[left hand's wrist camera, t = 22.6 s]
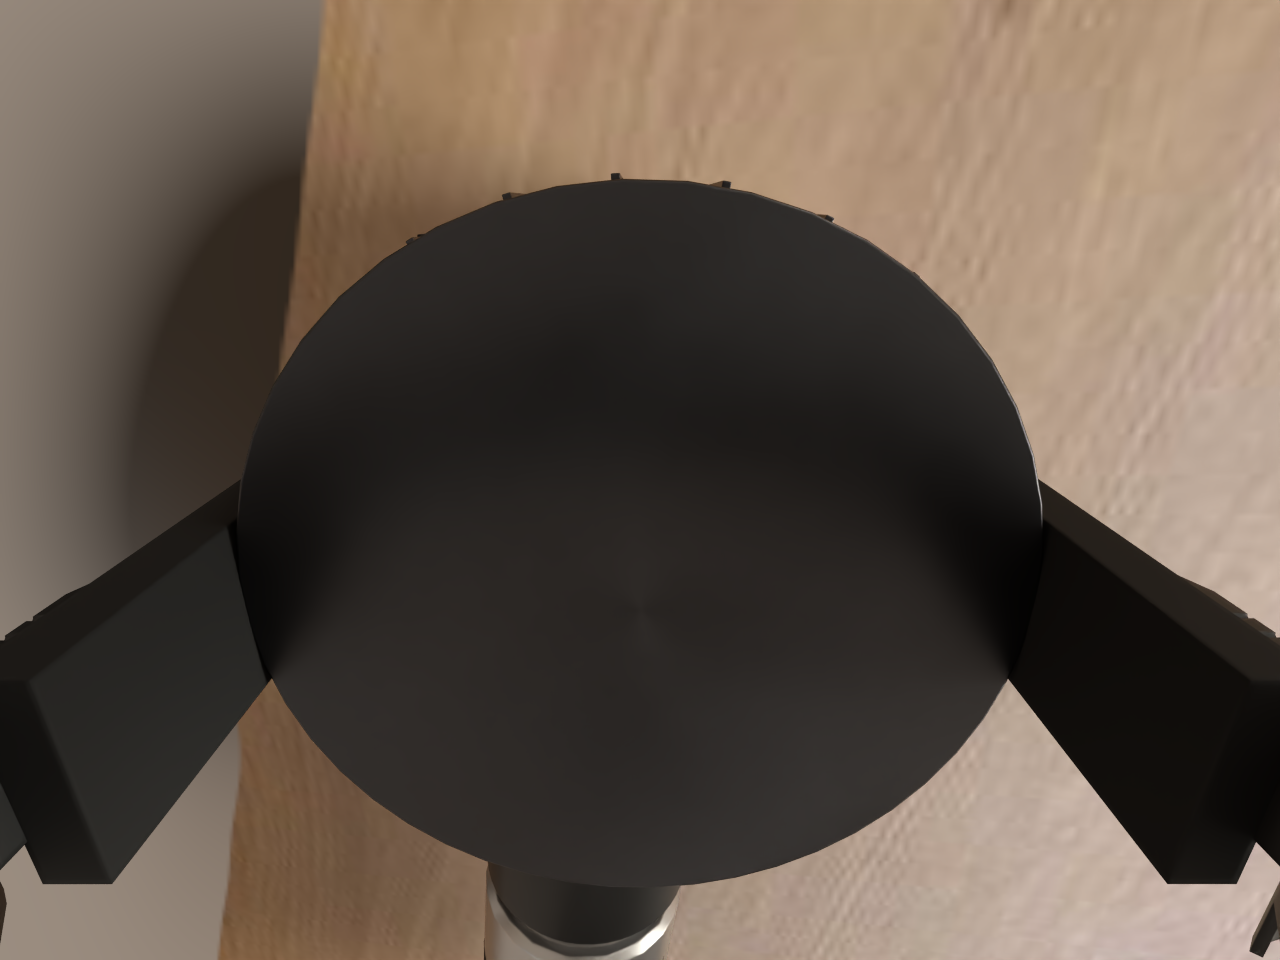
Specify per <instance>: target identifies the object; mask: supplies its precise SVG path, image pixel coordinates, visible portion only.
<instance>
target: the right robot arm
mask: <svg viewBox="0 0 1280 960" xmlns="http://www.w3.org/2000/svg"><path fill="white" fill-rule="evenodd" d="M422 235H424V234H419V235H418V237H420V236H422ZM679 898H680V885H679V886H666V887H608V886H599V885H590V884H581V883H572V882H565V881H560V880H556V879H551V878H546V877H541V876H536V875H532V874H527V873H523V872H520V871H517V870H514V869H510V868H507V867H504V866H501V865H497V864H494V863H491V862H488V867H487V871H486V905H485V938H484V960H666V958H667V953H668V949H669V944H670V939H671V935H672V930H673V925H674V921H675V916H676V912H677V907H678V902H679Z"/></svg>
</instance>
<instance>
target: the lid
mask: <svg viewBox="0 0 1280 960" xmlns="http://www.w3.org/2000/svg"><path fill="white" fill-rule="evenodd" d="M730 187H731V182H728V181H721V182H717V183H713V184H710V185H708V184H702V183H696V182H691V181H673V180H642V179H623V178H622V176H621V175H620V173H612V174H611V180H607V181H598V182H589V183H580V184H571V185H563V186H555V187H552V188H548V189H544V190H540V191H536V192H532V193H529V194H520V193H506V194H503V195H502V197H503V200H502V201H498V202H494V203H492V204H489V205H487V206H485V207H482V208H480V209H478V210H475V211H473V212H471V213H468V214H466V215H463V216H461V217H459V218H456V219H454V220H452V221H449V222H447V223H445V224H442V225H440V226H437V227H435V228H434V229H432V230H431V231H429V232H427V233H426V234H424V235H422V236H420V237H413V238H411V239H409V240H407V241H406V243H407V245H406V246H404V247H403V248H401V249H399V250H398V251H396V252H395V253H393V254H391V255H390V256H388V257H386V258H385V259H383V260H382V261H381V262H380V263H379V264H377V265H376V266H375V267H374V268H373V269H371V270H370V271H369V272H368V273H367V274H366V275H364V276H363V277H362V278H361V279H360V280H358V281H357V282H356V283H355V284H354V285H352V286H351V287H350V288H349V289H348V290H347V291H345V292H344V293H343V294H342V295H341V296H339V297H338V299H337V300H336V301H335V302H334V303H333V304H332V305H331V307H330V308H329V309H328V310H327V311H326V312H325V313H324V315H323V316H322V317H321V318H320V319H319V320H318V321H317V323H316V324H315V325H314V326H313V327H312V328H311V330H310V331H309V332H308V333H307V334H306V335H305V336H304V338H303V339H302V340H301V342H300V343H299V345H298V346H297V348H296V350H295V351H294V353H293V354H292V356H291V358H290V359H289V361H288V362H287V364H286V366H285V367H284V369H283V370H282V372H281V373H280V375H279V377H278V378H277V380H276V381H275V383H274V385H273V387H272V389H271V391H270V394H269V396H268V398H267V401H266V403H265V405H264V408H263V410H262V413H261V415H260V417H259V420H258V422H257V424H256V427H255V429H254V431H253V434H252V438H251V442H250V446H249V450H248V454H247V458H246V462H245V466H244V470H243V474H242V478H241V482H240V493H239V504H238V516H237V527H236V536H237V551H238V566H239V579H240V583H241V588H242V592H243V596H244V601H245V605H246V609H247V613H248V617H249V621H250V625H251V628H252V632H253V634H254V637H255V640H256V643H257V645H258V648H259V651H260V653H261V656H262V659H263V661H264V664H265V666H266V668H267V670H268V672H269V674H270V675H271V677H272V679H273V681H274V683H275V685H276V687H277V688H278V690H279V692H280V694H281V696H282V698H283V700H284V701H285V703H286V705H287V706H288V708H289V709H290V710H291V712H292V713H293V715H294V716H295V717H296V719H297V720H298V722H299V723H300V724H301V726H302V727H303V729H304V730H305V731H306V733H307V734H308V736H309V737H310V738H311V740H312V741H313V742H314V743H315V744H316V745H317V746H318V747H319V748H320V749H321V751H322V752H323V753H324V754H325V755H326V756H327V757H328V758H329V759H330V760H331V761H332V763H333V764H334V765H335V766H336V767H337V768H338V769H339V770H340V771H341V772H342V773H343V774H344V775H345V776H347V777H348V778H349V779H350V780H351V781H352V782H353V783H355V784H356V785H357V786H358V787H359V788H360V789H362V790H363V791H364V792H365V793H366V794H367V795H369V796H370V797H371V798H372V799H373V800H375V801H376V802H378V803H379V804H380V805H382V806H383V807H385V808H386V809H388V810H389V811H391V812H392V813H393V814H395V815H396V816H398V817H399V818H401V819H402V820H404V821H405V822H407V823H408V824H410V825H412V826H413V827H415V828H417V829H419V830H421V831H423V832H424V833H426V834H428V835H430V836H432V837H434V838H435V839H437V840H439V841H441V842H443V843H445V844H447V845H449V846H451V847H454V848H456V849H459V850H461V851H463V852H466V853H468V854H470V855H473V856H475V857H478V858H480V859H482V860H485V861H488V862H491V863H494V864H497V865H501V866H504V867H507V868H510V869H514V870H517V871H520V872H523V873H527V874H532V875H536V876H541V877H546V878H551V879H556V880H560V881H565V882H572V883H581V884H590V885H599V886H608V887H666V886H679V885H693V884H700V883H706V882H712V881H718V880H724V879H730V878H736V877H740V876H743V875H747V874H751V873H755V872H758V871H762V870H766V869H770V868H773V867H777V866H780V865H783V864H785V863H788V862H791V861H793V860H796V859H799V858H801V857H804V856H807V855H809V854H812V853H815V852H817V851H819V850H821V849H824V848H826V847H828V846H830V845H832V844H834V843H836V842H838V841H840V840H842V839H844V838H846V837H848V836H850V835H852V834H854V833H856V832H858V831H859V830H861V829H862V828H864V827H866V826H867V825H869V824H870V823H872V822H874V821H875V820H877V819H878V818H880V817H882V816H883V815H885V814H886V813H888V812H890V811H891V810H893V809H894V808H895V807H896V806H898V805H899V804H900V803H902V802H903V801H904V800H905V799H907V798H908V797H909V796H910V795H912V794H913V793H914V792H916V791H917V790H918V789H919V788H921V787H922V786H923V785H924V784H926V783H927V782H928V781H929V780H930V779H931V778H932V777H933V776H934V775H935V774H936V773H937V772H938V771H939V770H940V769H941V768H942V767H943V766H944V765H945V764H946V763H947V762H948V761H949V760H950V759H951V758H952V757H953V756H954V755H955V754H956V753H957V752H958V751H959V749H960V748H961V747H962V746H963V744H964V743H965V742H966V741H967V739H968V738H969V737H970V736H971V734H972V733H973V732H974V731H975V729H976V728H977V727H978V726H979V724H980V723H981V722H982V721H983V719H984V718H985V716H986V714H987V713H988V711H989V710H990V708H991V706H992V705H993V703H994V701H995V700H996V698H997V696H998V695H999V693H1000V692H1001V690H1002V688H1003V687H1004V685H1005V683H1006V682H1007V679H1008V677H1009V675H1010V673H1011V670H1012V668H1013V666H1014V664H1015V661H1016V659H1017V657H1018V655H1019V652H1020V650H1021V648H1022V646H1023V643H1024V641H1025V637H1026V633H1027V629H1028V625H1029V621H1030V617H1031V614H1032V610H1033V606H1034V602H1035V598H1036V594H1037V589H1038V585H1039V579H1040V571H1041V564H1042V556H1043V519H1042V500H1041V494H1040V488H1039V483H1038V477H1037V471H1036V466H1035V460H1034V455H1033V452H1032V449H1031V446H1030V443H1029V440H1028V437H1027V434H1026V431H1025V428H1024V425H1023V423H1022V420H1021V417H1020V414H1019V411H1018V408H1017V406H1016V404H1015V402H1014V400H1013V398H1012V396H1011V394H1010V392H1009V391H1008V389H1007V387H1006V385H1005V383H1004V381H1003V379H1002V377H1001V375H1000V374H999V372H998V370H997V368H996V366H995V364H994V362H993V360H992V359H991V358H990V356H989V355H988V354H987V352H986V351H985V350H984V348H983V347H982V346H981V344H980V343H979V342H978V340H977V339H976V338H975V336H974V335H973V334H972V332H971V331H970V330H969V328H968V327H967V326H966V324H965V323H964V322H963V320H962V319H961V318H960V316H959V315H958V314H957V313H956V312H955V311H954V310H953V309H952V308H951V307H950V306H948V305H947V304H946V303H945V302H944V301H943V300H942V299H941V298H940V297H939V296H938V295H937V294H936V293H935V292H934V291H933V290H932V289H931V288H930V287H929V286H928V285H927V284H926V283H925V282H924V281H923V280H922V279H921V278H919V276H918V275H917V274H916V273H915V272H912V271H911V270H909V269H908V268H906V267H905V266H903V265H902V264H901V263H899V262H898V261H896V260H895V259H894V258H892V257H891V256H889V255H888V254H886V253H885V252H884V251H882V250H881V249H879V248H878V247H877V246H875V245H874V244H872V243H871V242H870V241H868V240H866V239H864V238H862V237H860V236H858V235H856V234H854V233H852V232H850V231H848V230H846V229H844V228H842V227H840V226H838V225H836V224H834V223H832V222H833V220H834V218H833V217H831V216H829V215H819V214H815V213H813V212H810V211H807V210H804V209H801V208H798V207H795V206H792V205H789V204H785V203H782V202H779V201H776V200H773V199H770V198H767V197H764V196H761V195H758V194H755V193H752V192H747V191H741V190H736V189H730Z"/></svg>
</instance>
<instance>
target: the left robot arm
mask: <svg viewBox="0 0 1280 960" xmlns="http://www.w3.org/2000/svg"><path fill="white" fill-rule="evenodd" d="M240 482H241V480H239V481H238V482H236V483H235V484H233V485H232V486H231V487H229V488H228V489H226V490H225V491H223V492H222V493H220V494H219V495H218V496H216V497H215V498H213V499H212V500H210V501H209V502H207V503H206V504H204V505H203V506H202V507H200V508H199V509H197V510H196V511H194V512H193V513H191V514H190V515H189V516H187V517H186V518H184V519H183V520H181V521H180V522H178V523H177V524H175V525H174V526H172V527H171V528H170V529H168V530H167V531H165V532H164V533H162V534H161V535H159V536H158V537H157V538H155V539H154V540H152V541H151V542H149V543H148V544H146V545H145V546H143V547H142V548H141V549H139V550H138V551H136V552H135V553H133V554H132V555H130V556H129V557H128V558H126V559H125V560H123V561H122V562H120V563H119V564H117V565H116V566H114V567H113V568H112V569H110V570H109V571H107V572H106V573H104V574H103V575H101V576H100V577H99V578H97V579H96V580H94V581H93V582H91V583H90V584H88V585H86V586H84V587H81V588H79V589H77V590H74V591H72V592H70V593H68V594H66V595H64V596H63V597H61V598H60V599H58V600H57V601H55V602H54V603H52V604H51V605H49V606H48V607H47V608H45V609H44V610H42V611H41V612H39V613H38V614H36V615H35V616H33V621H26V622H24V623H23V624H22V625H20V626H19V627H17V628H16V629H14V630H13V631H11V632H10V633H8V634H7V635H5V640H4V641H0V870H1V869H2V868H3V867H4V866H5V864H6V863H7V862H8V861H9V860H10V859H11V858H12V857H13V856H14V855H15V854H16V853H17V852H18V851H19V850H20V849H21V848H22V847H23V846H24V845H25V847H26V849H27V851H28V853H29V855H30V857H31V859H32V862H33V864H34V866H35V868H36V870H37V872H38V875H39V877H40V879H41V881H42V883H43V884H112V883H113V882H114V881H115V880H116V878H117V877H118V876H119V874H120V873H121V872H122V870H123V869H124V868H125V867H126V865H127V864H128V863H129V862H130V860H131V859H132V858H133V856H134V855H135V854H136V852H137V851H138V850H139V849H140V847H141V846H142V845H143V843H144V842H145V841H146V840H147V838H148V837H149V836H150V834H151V833H152V832H153V831H154V829H155V828H156V827H157V825H158V824H159V823H160V822H161V820H162V819H163V818H164V816H165V815H166V814H167V813H168V811H169V810H170V809H171V807H172V806H173V805H174V804H175V802H176V801H177V800H178V798H179V797H180V796H181V794H182V793H183V792H184V791H185V789H186V788H187V787H188V785H189V784H190V783H191V782H192V780H193V779H194V778H195V776H196V775H197V774H198V773H199V771H200V770H201V769H202V767H203V766H204V765H205V764H206V762H207V761H208V760H209V758H210V757H211V756H212V755H213V753H214V752H215V751H216V749H217V748H218V747H219V746H220V744H221V743H222V742H223V740H224V739H225V738H226V736H227V735H228V734H229V733H230V731H231V730H232V729H233V728H234V726H235V725H236V724H237V722H238V721H239V720H240V719H241V717H242V716H243V715H244V713H245V712H246V711H247V710H248V708H249V707H250V706H251V704H252V703H253V702H254V700H255V699H256V698H257V697H258V695H259V694H260V693H261V691H262V690H263V689H264V688H265V686H266V685H267V684H268V682H269V681H270V680H271V679H272V677H271V675H270V674H269V672H268V670H267V668H266V666H265V664H264V661H263V659H262V656H261V653H260V651H259V648H258V645H257V643H256V640H255V637H254V634H253V632H252V628H251V625H250V621H249V617H248V613H247V609H246V605H245V601H244V596H243V592H242V588H241V583H240V579H239V566H238V551H237V536H236V527H237V516H238V504H239V493H240ZM1038 483H1039V488H1040V494H1041V500H1042V519H1043V556H1042V564H1041V571H1040V579H1039V585H1038V589H1037V594H1036V598H1035V602H1034V606H1033V610H1032V614H1031V617H1030V621H1029V625H1028V629H1027V633H1026V637H1025V641H1024V643H1023V646H1022V648H1021V650H1020V652H1019V655H1018V657H1017V659H1016V661H1015V664H1014V666H1013V668H1012V670H1011V673H1010V675H1009V677H1008V679H1009V680H1010V682H1011V683H1012V684H1013V686H1014V687H1015V688H1016V689H1017V691H1018V692H1019V693H1020V695H1021V696H1022V697H1023V698H1024V700H1025V701H1026V702H1027V704H1028V705H1029V706H1030V707H1031V709H1032V710H1033V711H1034V713H1035V714H1036V715H1037V717H1038V718H1039V719H1040V720H1041V722H1042V723H1043V724H1044V726H1045V727H1046V728H1047V729H1048V731H1049V732H1050V733H1051V735H1052V736H1053V737H1054V738H1055V740H1056V741H1057V742H1058V744H1059V745H1060V746H1061V747H1062V749H1063V750H1064V751H1065V753H1066V754H1067V755H1068V756H1069V758H1070V759H1071V760H1072V762H1073V763H1074V764H1075V765H1076V767H1077V768H1078V769H1079V771H1080V772H1081V773H1082V774H1083V776H1084V777H1085V778H1086V780H1087V781H1088V782H1089V783H1090V785H1091V786H1092V787H1093V789H1094V790H1095V791H1096V793H1097V794H1098V795H1099V796H1100V798H1101V799H1102V800H1103V802H1104V803H1105V804H1106V805H1107V807H1108V808H1109V809H1110V811H1111V812H1112V813H1113V814H1114V816H1115V817H1116V818H1117V820H1118V821H1119V822H1120V823H1121V825H1122V826H1123V827H1124V829H1125V830H1126V831H1127V832H1128V834H1129V835H1130V836H1131V838H1132V839H1133V840H1134V841H1135V843H1136V844H1137V845H1138V847H1139V848H1140V849H1141V850H1142V852H1143V853H1144V854H1145V856H1146V857H1147V858H1148V859H1149V861H1150V862H1151V863H1152V865H1153V866H1154V867H1155V869H1156V870H1157V871H1158V872H1159V874H1160V875H1161V876H1162V878H1163V879H1164V880H1165V881H1166V883H1167V884H1237V882H1238V880H1239V878H1240V875H1241V873H1242V871H1243V869H1244V867H1245V865H1246V862H1247V860H1248V858H1249V856H1250V854H1251V852H1252V849H1253V847H1254V845H1255V843H1256V842H1257V843H1258V844H1259V845H1260V846H1261V847H1262V848H1263V849H1264V850H1265V851H1266V852H1267V854H1268V855H1269V856H1270V857H1271V858H1272V859H1273V860H1274V861H1275V862H1276V863H1277V864H1278V865H1279V866H1280V638H1276V636H1275V632H1274V631H1272V630H1271V629H1269V628H1268V627H1266V626H1265V625H1263V624H1262V623H1260V622H1259V621H1257V620H1256V619H1254V618H1248V617H1247V613H1245V612H1244V611H1242V610H1241V609H1239V608H1238V607H1236V606H1235V605H1234V604H1232V603H1231V602H1229V601H1228V600H1226V599H1225V598H1223V597H1222V596H1220V595H1219V594H1217V593H1216V592H1214V591H1212V590H1210V589H1207V588H1205V587H1203V586H1201V585H1198V584H1196V583H1194V582H1192V581H1189V580H1187V579H1185V578H1183V577H1180V576H1178V575H1177V574H1175V573H1174V572H1172V571H1171V570H1169V569H1168V568H1167V567H1165V566H1164V565H1162V564H1161V563H1159V562H1158V561H1156V560H1155V559H1153V558H1152V557H1151V556H1149V555H1148V554H1146V553H1145V552H1143V551H1142V550H1140V549H1139V548H1137V547H1136V546H1135V545H1133V544H1132V543H1130V542H1129V541H1127V540H1126V539H1124V538H1123V537H1122V536H1120V535H1119V534H1117V533H1116V532H1114V531H1113V530H1111V529H1110V528H1108V527H1107V526H1106V525H1104V524H1103V523H1101V522H1100V521H1098V520H1097V519H1095V518H1094V517H1093V516H1091V515H1090V514H1088V513H1087V512H1085V511H1084V510H1082V509H1081V508H1079V507H1078V506H1077V505H1075V504H1074V503H1072V502H1071V501H1069V500H1068V499H1066V498H1065V497H1064V496H1062V495H1061V494H1059V493H1058V492H1056V491H1055V490H1053V489H1052V488H1050V487H1049V486H1048V485H1046V484H1045V483H1043V482H1042V481H1040V480H1039V479H1038ZM6 904H7V903H6V898H5V893H4V888H3V887H2V884H1V882H0V941H1V935H2V929H3V923H4V917H5V911H6ZM1278 939H1280V882H1279V884H1278V886H1277V888H1276V890H1275V892H1274V894H1273V896H1272V899H1271V901H1270V903H1269V905H1268V907H1267V909H1266V911H1265V913H1264V915H1263V917H1262V919H1261V921H1260V923H1259V925H1258V927H1257V929H1256V931H1255V933H1254V935H1253V938H1252V942H1251V947H1250V952H1252V953H1254V954H1256V955H1259V956H1261V957H1263V956H1264V954H1265V952H1266V950H1267V948H1268V946H1269V944H1270V942H1272V941H1275V940H1278Z"/></svg>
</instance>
